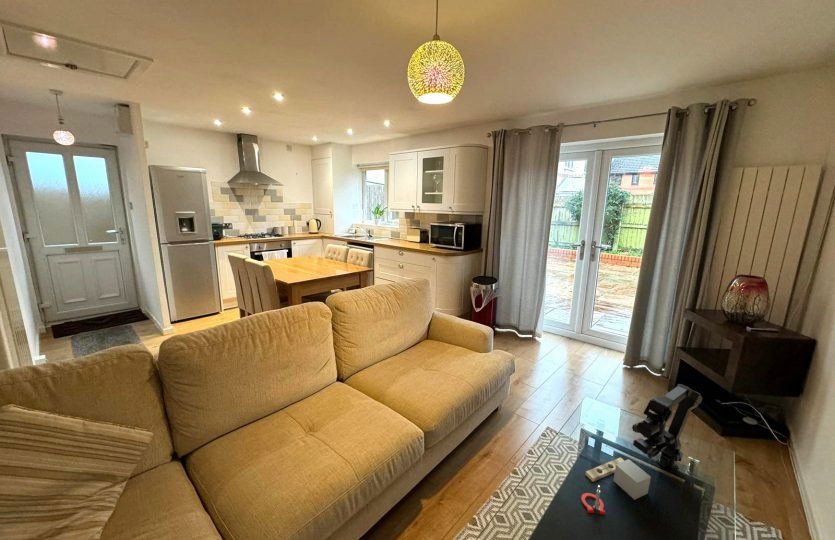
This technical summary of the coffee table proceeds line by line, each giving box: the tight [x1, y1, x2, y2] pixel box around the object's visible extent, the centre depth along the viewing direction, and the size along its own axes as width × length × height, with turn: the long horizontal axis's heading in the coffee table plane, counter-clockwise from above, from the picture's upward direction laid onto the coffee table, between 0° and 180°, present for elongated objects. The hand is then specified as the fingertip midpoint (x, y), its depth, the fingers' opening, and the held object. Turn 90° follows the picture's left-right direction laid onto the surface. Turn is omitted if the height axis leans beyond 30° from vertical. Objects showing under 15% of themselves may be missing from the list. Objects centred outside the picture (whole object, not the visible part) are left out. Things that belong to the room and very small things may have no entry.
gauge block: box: [612, 458, 652, 501], centre depth 143 cm, size 8×10×9 cm
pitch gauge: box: [585, 457, 626, 482], centre depth 152 cm, size 22×4×2 cm, turn 110°
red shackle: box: [580, 485, 606, 516], centre depth 135 cm, size 8×13×9 cm
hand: (651, 456), depth 145 cm, fingers open, 2 cm apart
